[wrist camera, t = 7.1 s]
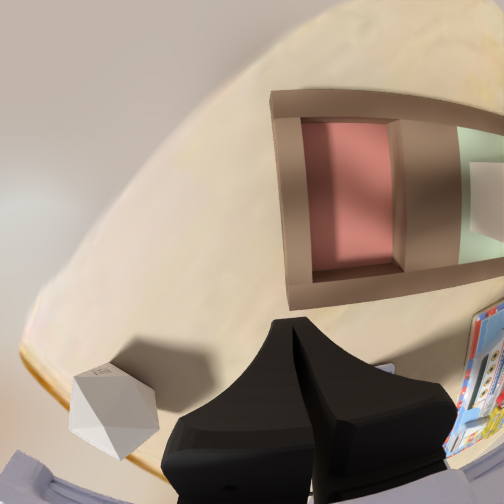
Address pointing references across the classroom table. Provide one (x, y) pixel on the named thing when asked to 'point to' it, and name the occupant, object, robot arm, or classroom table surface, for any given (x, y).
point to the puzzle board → (480, 382)
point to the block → (487, 199)
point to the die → (112, 410)
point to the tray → (379, 194)
